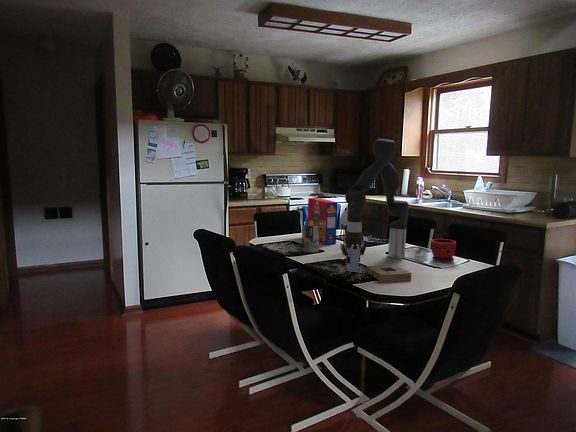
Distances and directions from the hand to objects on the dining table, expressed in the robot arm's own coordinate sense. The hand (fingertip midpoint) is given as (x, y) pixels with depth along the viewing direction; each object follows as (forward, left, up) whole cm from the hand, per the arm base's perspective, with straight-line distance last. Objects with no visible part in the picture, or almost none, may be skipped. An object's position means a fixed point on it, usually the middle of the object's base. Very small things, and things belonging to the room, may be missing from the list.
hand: (352, 263), depth 212 cm
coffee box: (-48, -7, -5) cm, 49 cm away
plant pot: (-9, +59, -5) cm, 60 cm away
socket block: (+11, +14, -4) cm, 18 cm away
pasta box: (-76, +10, -5) cm, 77 cm away
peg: (0, 0, -4) cm, 4 cm away
